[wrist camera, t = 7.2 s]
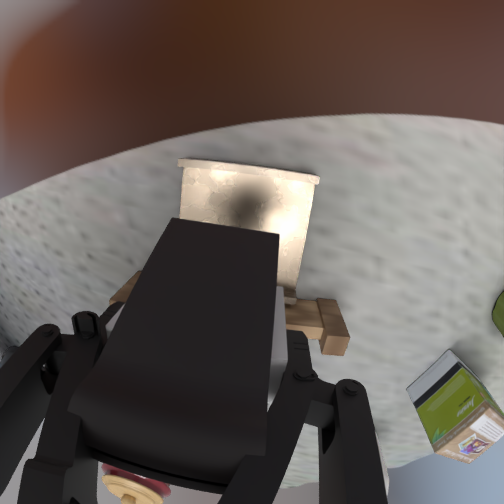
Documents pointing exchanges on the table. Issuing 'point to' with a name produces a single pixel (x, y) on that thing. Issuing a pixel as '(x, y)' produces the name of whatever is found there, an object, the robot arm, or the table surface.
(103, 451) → the phone stand
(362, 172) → the table surface
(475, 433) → the tea box
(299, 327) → the door pull handle
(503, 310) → the plant pot
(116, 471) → the canister
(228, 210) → the keeper plate
